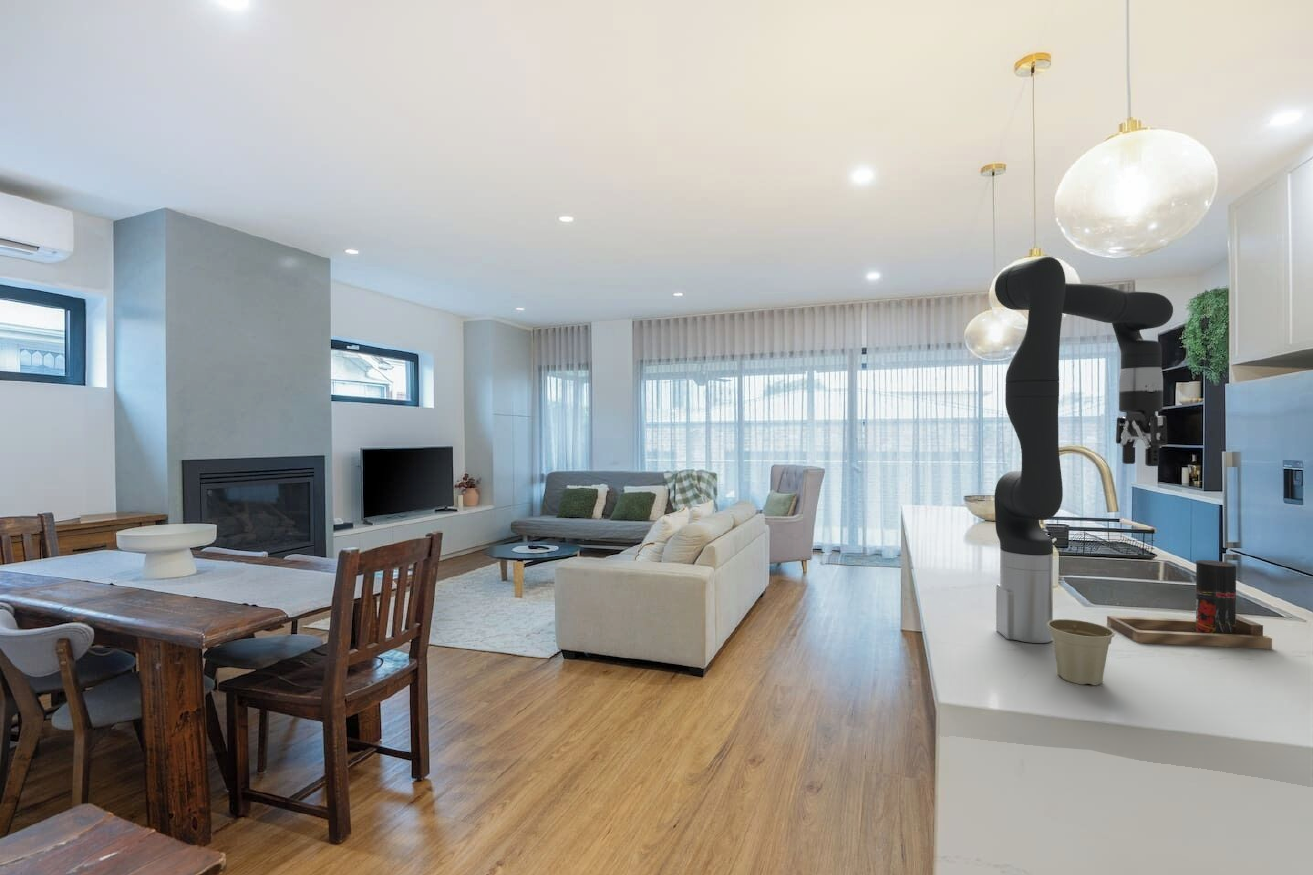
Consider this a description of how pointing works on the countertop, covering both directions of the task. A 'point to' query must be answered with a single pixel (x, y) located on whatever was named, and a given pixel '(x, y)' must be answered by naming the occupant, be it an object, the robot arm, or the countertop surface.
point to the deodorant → (1215, 597)
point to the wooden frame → (1245, 636)
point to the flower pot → (1080, 650)
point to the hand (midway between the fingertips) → (1140, 464)
